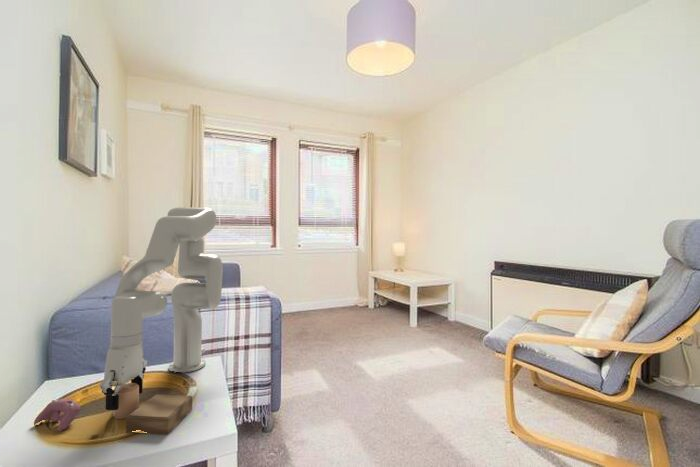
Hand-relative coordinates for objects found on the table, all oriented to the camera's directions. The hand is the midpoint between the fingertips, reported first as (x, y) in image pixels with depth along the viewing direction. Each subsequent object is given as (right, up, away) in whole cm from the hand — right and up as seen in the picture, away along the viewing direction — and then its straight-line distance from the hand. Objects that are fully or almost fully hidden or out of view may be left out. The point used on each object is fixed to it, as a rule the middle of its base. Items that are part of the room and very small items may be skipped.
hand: (124, 400), depth 96 cm
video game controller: (-14, -4, -5) cm, 16 cm away
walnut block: (+12, -4, -3) cm, 13 cm away
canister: (0, -4, +1) cm, 4 cm away
